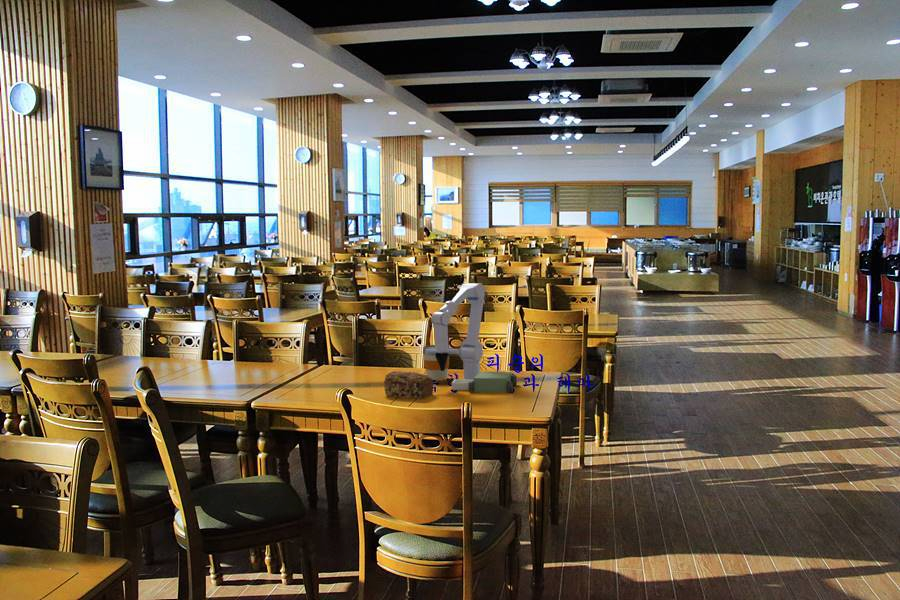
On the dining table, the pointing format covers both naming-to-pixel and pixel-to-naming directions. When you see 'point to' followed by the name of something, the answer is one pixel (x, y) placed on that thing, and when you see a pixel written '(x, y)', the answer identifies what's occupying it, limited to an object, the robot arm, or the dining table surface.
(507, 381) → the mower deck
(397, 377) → the bread
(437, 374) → the reusable coffee cup
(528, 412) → the dining table surface
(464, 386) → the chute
